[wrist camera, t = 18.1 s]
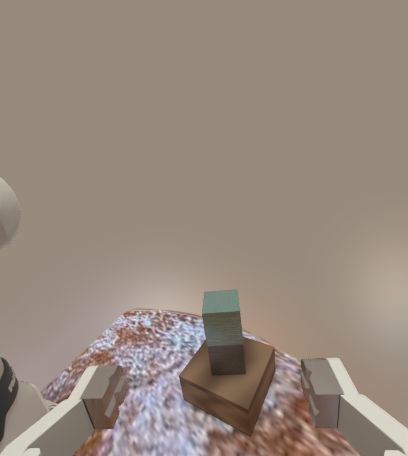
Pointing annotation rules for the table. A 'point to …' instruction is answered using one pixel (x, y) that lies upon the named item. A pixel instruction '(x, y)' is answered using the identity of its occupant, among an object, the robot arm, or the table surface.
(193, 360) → the walnut stand
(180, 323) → the table surface
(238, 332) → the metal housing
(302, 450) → the table surface
